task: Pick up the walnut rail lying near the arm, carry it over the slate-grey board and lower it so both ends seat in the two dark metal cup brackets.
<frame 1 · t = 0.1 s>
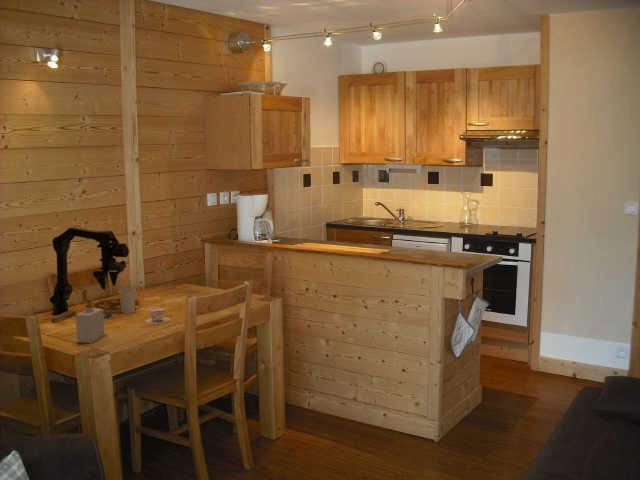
hand: (109, 287, 344), 15 cm above the table, fingers open, 9 cm apart
cup: (128, 313, 352), on the table
rail: (64, 321, 340), on the table
bracket near: (92, 321, 335), resting on board
soap bottle: (91, 339, 309), on the table
teacup: (157, 321, 338), on the table
bracket far: (101, 316, 342), resting on board
board: (96, 320, 339), on the table
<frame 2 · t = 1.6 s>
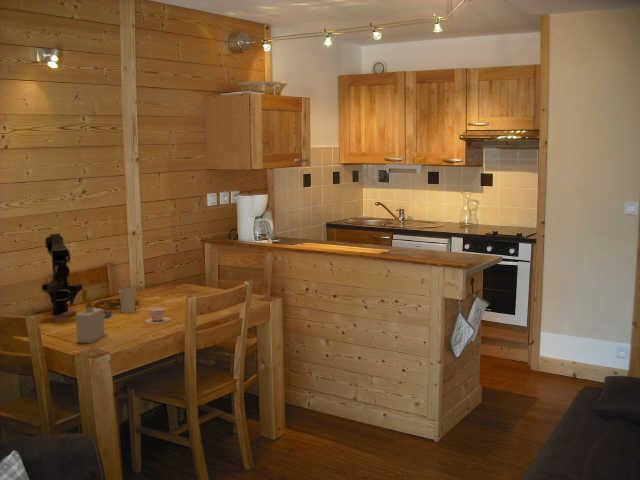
hand: (63, 304, 338), 8 cm above the table, fingers open, 9 cm apart
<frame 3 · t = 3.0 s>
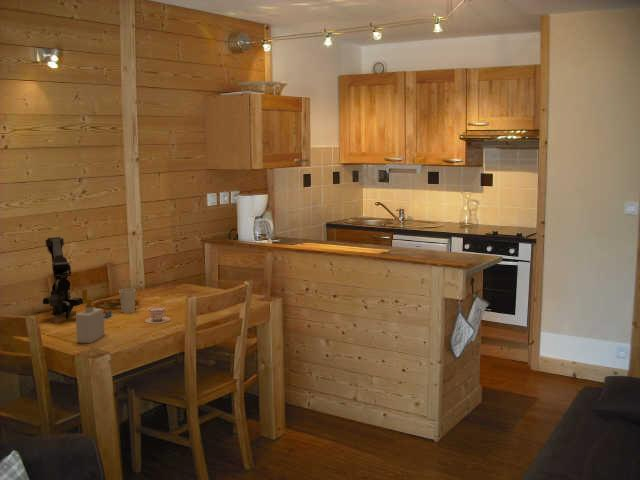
hand: (63, 318, 339), 1 cm above the table, fingers closed on rail, 4 cm apart
rail: (64, 321, 340), on the table, touching gripper
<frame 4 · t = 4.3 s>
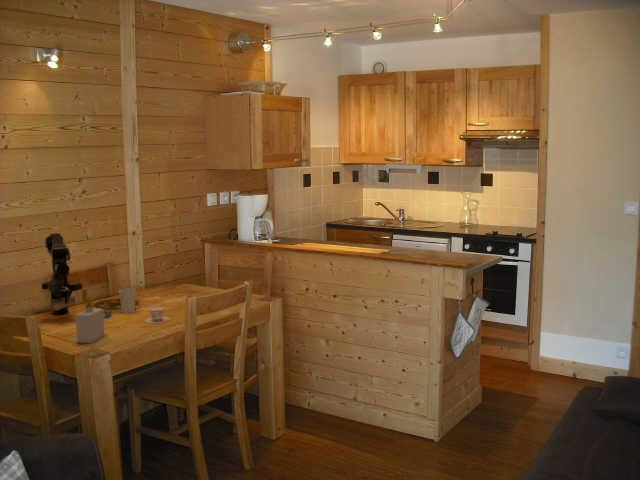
hand: (63, 303, 338), 9 cm above the table, fingers closed on rail, 3 cm apart
rail: (63, 306, 338), point 7 cm above the table, touching gripper
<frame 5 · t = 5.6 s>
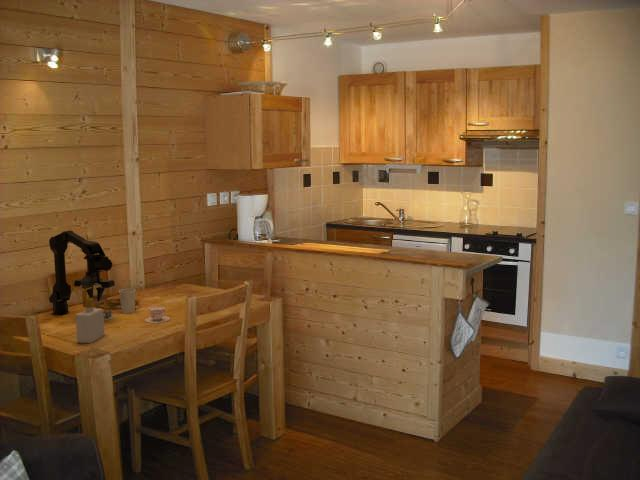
hand: (95, 300, 337), 10 cm above the table, fingers closed on rail, 3 cm apart
rail: (95, 303, 337), point 9 cm above the table, touching gripper
when the fingers open (4 cm above the table, at t = 7.6 s): rail stays where it is, resting on bracket far, bracket near.
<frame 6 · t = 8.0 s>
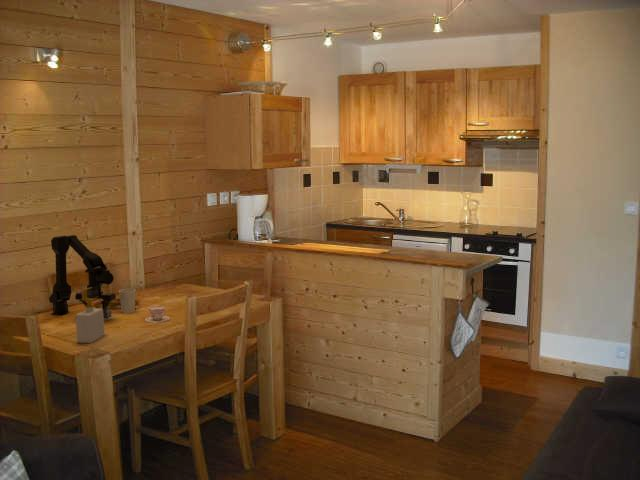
hand: (96, 313, 338), 4 cm above the table, fingers open, 8 cm apart
rail: (96, 317, 338), point 2 cm above the table, touching bracket far, bracket near
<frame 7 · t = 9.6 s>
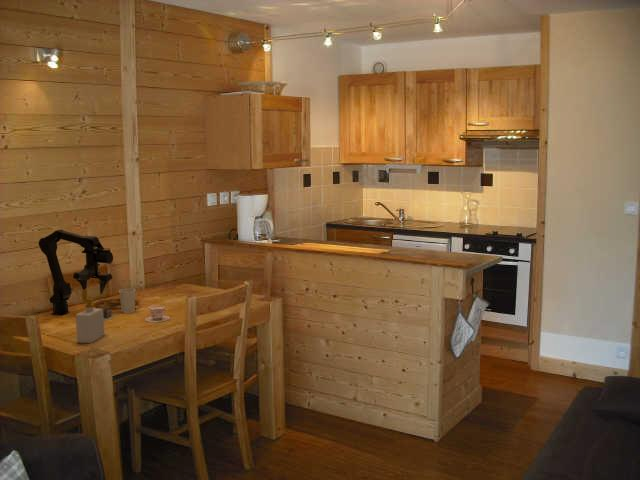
hand: (93, 293, 346), 12 cm above the table, fingers open, 9 cm apart
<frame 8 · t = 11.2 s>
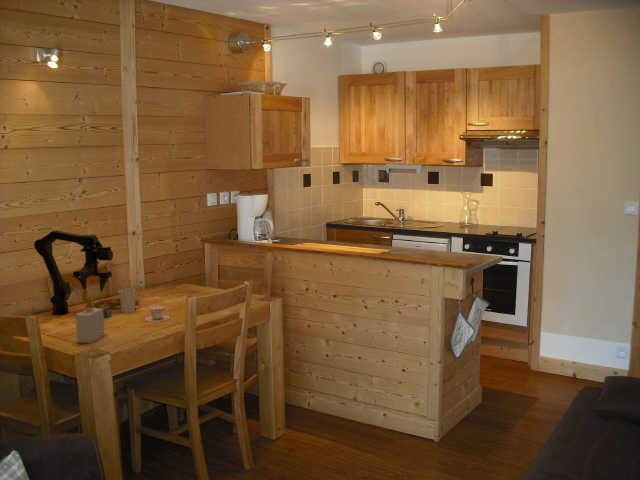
hand: (93, 291, 349), 12 cm above the table, fingers open, 9 cm apart
at the end: rail 0.1 cm from the target spot, point 1.6 cm above the table; rail tilted 0°; the gripper is holding nothing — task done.
